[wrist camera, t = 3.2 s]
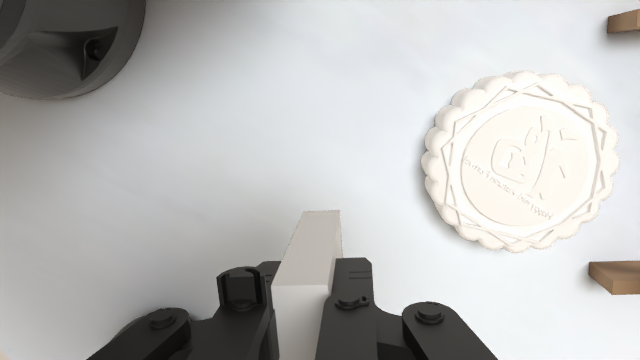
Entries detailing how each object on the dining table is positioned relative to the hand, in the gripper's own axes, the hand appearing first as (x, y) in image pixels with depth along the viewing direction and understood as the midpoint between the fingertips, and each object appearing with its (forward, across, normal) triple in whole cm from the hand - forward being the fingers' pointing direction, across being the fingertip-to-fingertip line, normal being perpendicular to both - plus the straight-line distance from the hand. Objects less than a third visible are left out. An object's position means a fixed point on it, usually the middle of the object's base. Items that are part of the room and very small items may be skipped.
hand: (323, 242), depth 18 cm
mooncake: (+15, +12, 0) cm, 19 cm away
